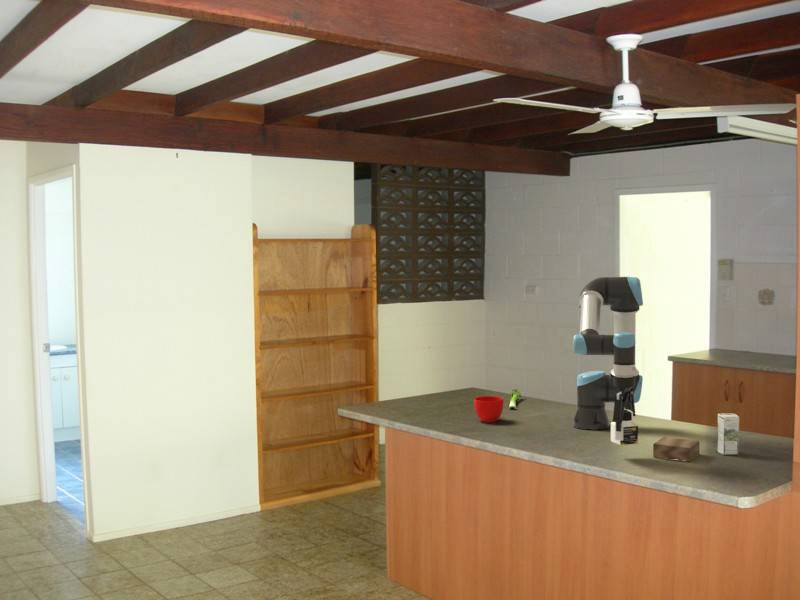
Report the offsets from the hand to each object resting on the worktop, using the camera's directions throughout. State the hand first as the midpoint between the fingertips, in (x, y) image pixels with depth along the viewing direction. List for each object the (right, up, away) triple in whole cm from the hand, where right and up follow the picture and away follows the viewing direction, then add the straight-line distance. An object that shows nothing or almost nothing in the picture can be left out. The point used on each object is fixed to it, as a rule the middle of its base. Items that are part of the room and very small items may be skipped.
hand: (624, 436), depth 307 cm
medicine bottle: (0, -2, 0) cm, 2 cm away
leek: (-25, -2, +109) cm, 111 cm away
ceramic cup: (-41, -4, +72) cm, 83 cm away
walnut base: (+20, -7, +3) cm, 21 cm away
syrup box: (+39, -7, +5) cm, 40 cm away
